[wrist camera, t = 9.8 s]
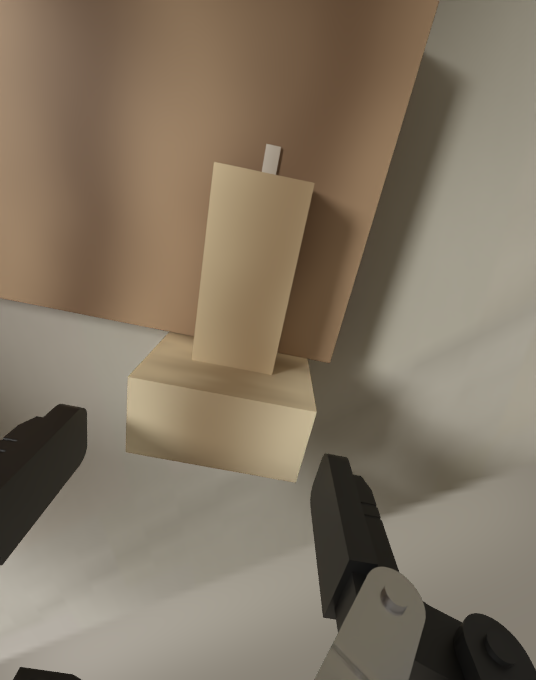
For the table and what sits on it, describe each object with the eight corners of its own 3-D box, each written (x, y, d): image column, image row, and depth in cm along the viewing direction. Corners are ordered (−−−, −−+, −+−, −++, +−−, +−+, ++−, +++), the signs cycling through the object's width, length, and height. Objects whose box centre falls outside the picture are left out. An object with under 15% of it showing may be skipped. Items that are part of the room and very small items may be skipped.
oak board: (-126, 251, 15) (-201, 259, 13) (-218, -106, 11) (-359, -195, 9) (322, 341, 16) (330, 364, 14) (408, 42, 12) (440, -2, 9)
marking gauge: (180, 367, 17) (125, 452, 11) (200, 169, 14) (135, 137, 8) (291, 387, 17) (295, 482, 11) (338, 198, 14) (382, 189, 8)
